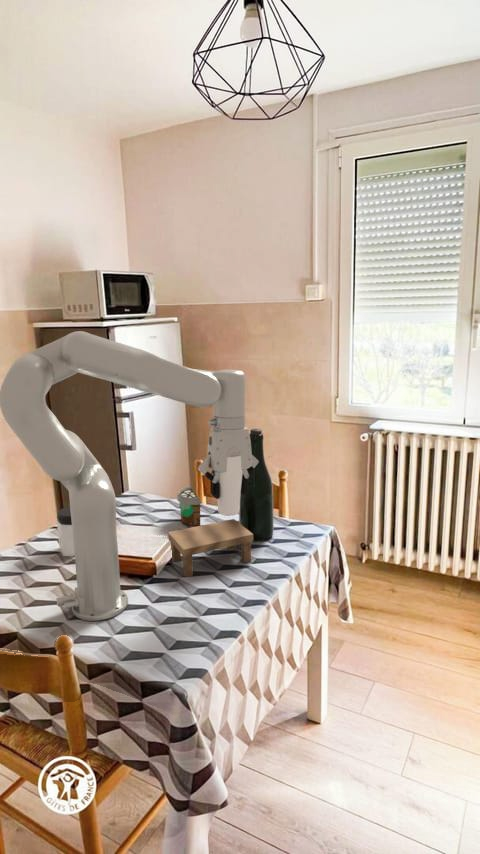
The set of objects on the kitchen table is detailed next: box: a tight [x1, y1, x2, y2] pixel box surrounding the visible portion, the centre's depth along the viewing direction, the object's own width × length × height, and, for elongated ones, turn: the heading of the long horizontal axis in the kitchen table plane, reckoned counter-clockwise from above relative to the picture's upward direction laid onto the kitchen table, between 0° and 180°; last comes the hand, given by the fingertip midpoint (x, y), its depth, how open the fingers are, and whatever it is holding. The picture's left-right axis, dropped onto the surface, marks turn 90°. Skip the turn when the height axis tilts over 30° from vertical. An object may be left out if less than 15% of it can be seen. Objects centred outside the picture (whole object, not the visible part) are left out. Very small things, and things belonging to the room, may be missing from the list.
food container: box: [176, 486, 202, 528], centre depth 169 cm, size 12×6×10 cm, turn 17°
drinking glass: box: [216, 455, 243, 517], centre depth 127 cm, size 7×7×15 cm
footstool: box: [167, 518, 254, 578], centre depth 143 cm, size 20×12×8 cm, turn 117°
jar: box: [56, 506, 75, 557], centre depth 150 cm, size 9×8×12 cm
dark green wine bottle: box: [238, 428, 275, 542], centre depth 157 cm, size 10×10×33 cm
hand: (228, 494), depth 128 cm, fingers closed on drinking glass, 6 cm apart
